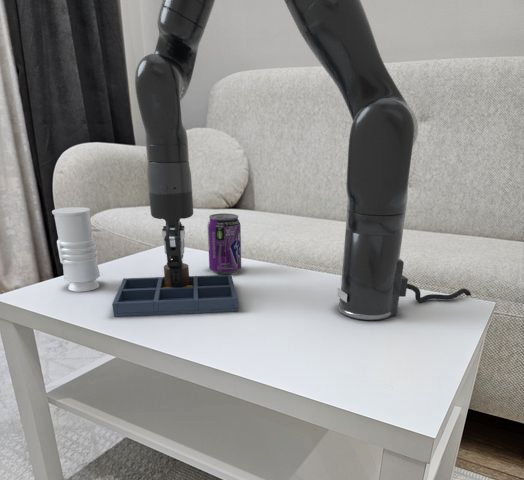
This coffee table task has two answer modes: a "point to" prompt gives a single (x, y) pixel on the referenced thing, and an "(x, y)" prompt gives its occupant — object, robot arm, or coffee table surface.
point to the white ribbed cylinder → (77, 248)
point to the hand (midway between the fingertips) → (177, 282)
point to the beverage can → (224, 243)
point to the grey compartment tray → (175, 296)
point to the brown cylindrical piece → (184, 273)
